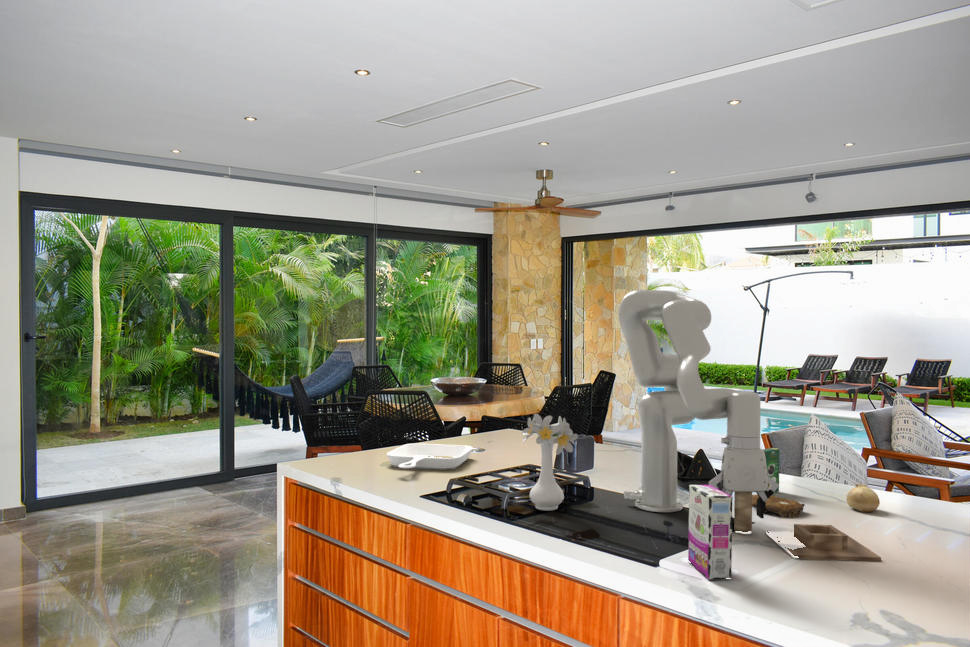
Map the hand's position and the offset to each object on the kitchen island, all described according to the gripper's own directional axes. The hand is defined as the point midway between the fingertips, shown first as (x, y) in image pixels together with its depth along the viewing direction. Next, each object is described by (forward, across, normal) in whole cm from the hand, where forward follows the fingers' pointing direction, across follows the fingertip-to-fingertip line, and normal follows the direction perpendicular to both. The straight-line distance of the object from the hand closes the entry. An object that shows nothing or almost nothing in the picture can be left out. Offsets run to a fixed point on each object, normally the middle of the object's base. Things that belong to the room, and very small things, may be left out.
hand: (743, 516), depth 169 cm
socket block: (+4, +14, -10) cm, 18 cm away
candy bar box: (+4, -15, -28) cm, 32 cm away
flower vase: (+4, -46, +18) cm, 50 cm away
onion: (+4, +39, +24) cm, 46 cm away
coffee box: (+4, +20, +42) cm, 47 cm away
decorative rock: (+4, +14, +22) cm, 26 cm away
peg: (+4, 0, 0) cm, 4 cm away
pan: (+4, -88, +71) cm, 113 cm away
